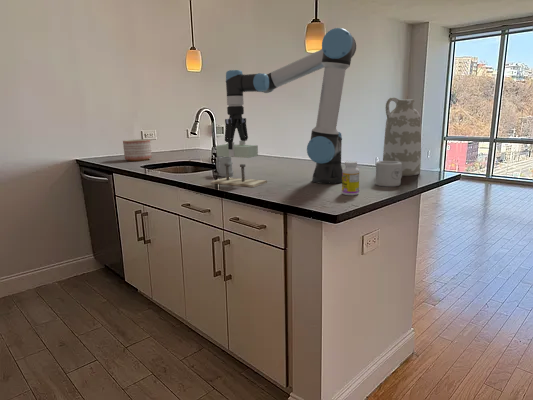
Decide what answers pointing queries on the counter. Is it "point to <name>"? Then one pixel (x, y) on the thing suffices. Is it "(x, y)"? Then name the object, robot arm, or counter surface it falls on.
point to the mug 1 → (221, 167)
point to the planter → (137, 149)
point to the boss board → (238, 181)
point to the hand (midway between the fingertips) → (237, 155)
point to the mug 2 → (388, 173)
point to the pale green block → (238, 150)
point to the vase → (403, 136)
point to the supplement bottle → (350, 179)
